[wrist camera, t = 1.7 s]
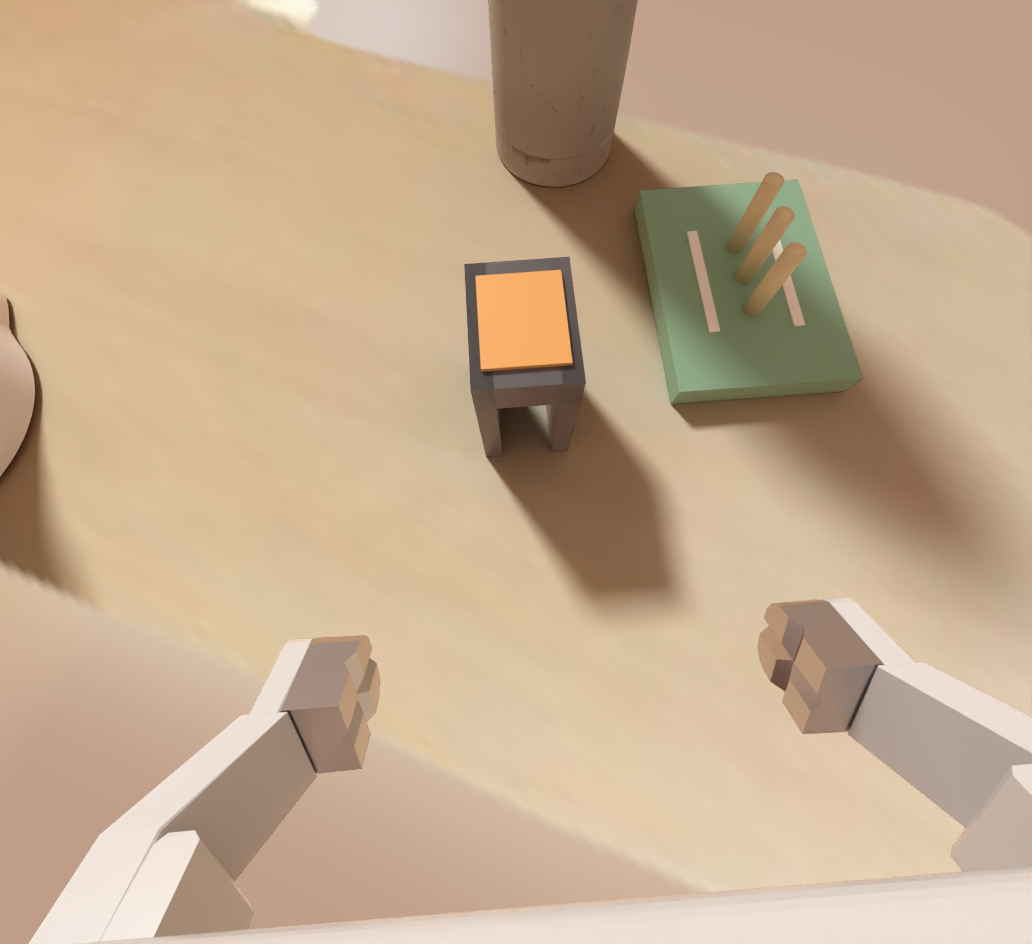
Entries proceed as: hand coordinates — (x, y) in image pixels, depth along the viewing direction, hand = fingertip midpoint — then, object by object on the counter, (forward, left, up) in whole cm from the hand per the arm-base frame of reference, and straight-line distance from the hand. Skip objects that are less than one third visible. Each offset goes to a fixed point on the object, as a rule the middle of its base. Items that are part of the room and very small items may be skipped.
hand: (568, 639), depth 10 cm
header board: (+7, +21, -14) cm, 27 cm away
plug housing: (-4, +11, -14) cm, 19 cm away
